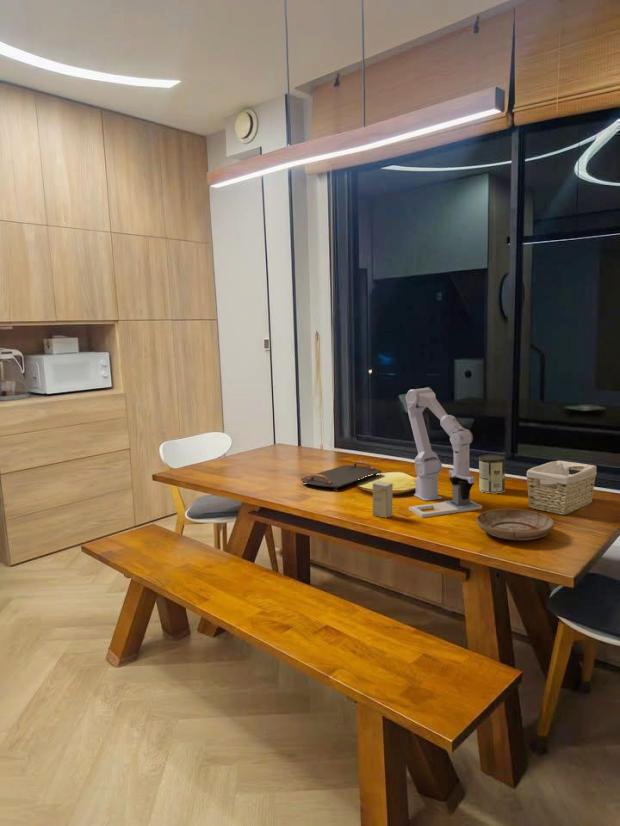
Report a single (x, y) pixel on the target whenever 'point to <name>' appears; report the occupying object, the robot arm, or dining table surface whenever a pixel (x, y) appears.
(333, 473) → the serving board
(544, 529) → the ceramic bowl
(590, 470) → the storage basket
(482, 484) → the coffee can
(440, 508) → the two-tone slotted frame
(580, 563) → the dining table surface
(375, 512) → the skincare box
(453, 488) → the plug
